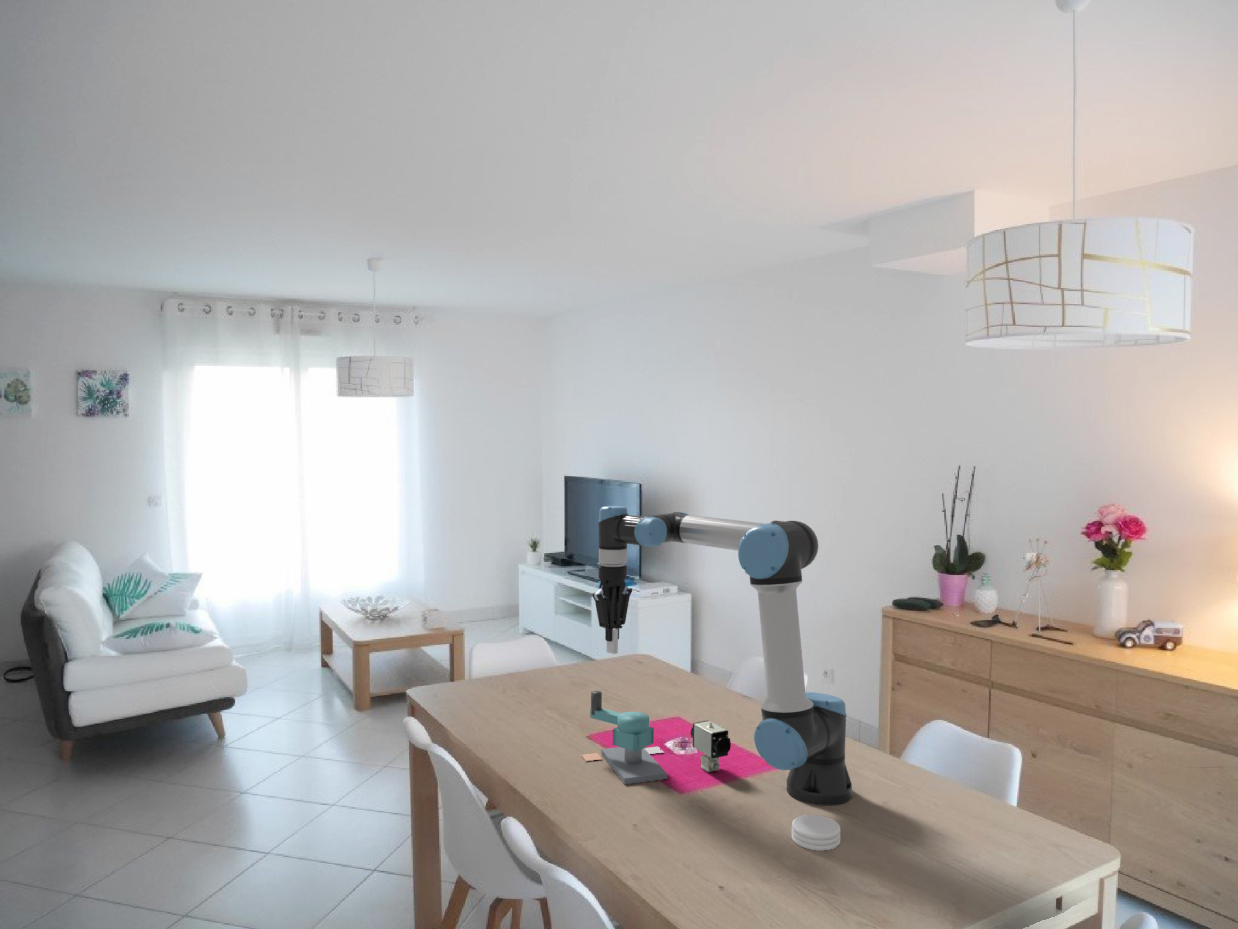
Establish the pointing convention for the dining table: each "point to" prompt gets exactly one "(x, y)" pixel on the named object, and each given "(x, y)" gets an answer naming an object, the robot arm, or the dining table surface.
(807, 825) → the coaster
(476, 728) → the dining table surface
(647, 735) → the crank handle
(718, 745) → the pneumatic valve
